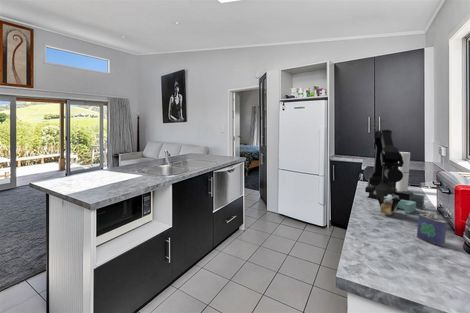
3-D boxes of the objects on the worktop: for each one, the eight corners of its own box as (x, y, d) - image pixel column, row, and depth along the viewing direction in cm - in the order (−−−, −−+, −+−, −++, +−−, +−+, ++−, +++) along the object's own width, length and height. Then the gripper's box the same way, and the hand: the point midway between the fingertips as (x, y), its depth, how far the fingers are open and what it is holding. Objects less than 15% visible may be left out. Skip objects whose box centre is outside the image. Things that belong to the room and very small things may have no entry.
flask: (446, 246, 83) (449, 216, 82) (440, 248, 83) (442, 217, 81) (419, 235, 92) (422, 208, 91) (413, 236, 91) (415, 209, 90)
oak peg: (380, 212, 113) (380, 204, 113) (387, 207, 120) (387, 199, 119) (390, 214, 110) (390, 206, 110) (396, 209, 117) (397, 201, 116)
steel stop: (391, 203, 132) (391, 190, 131) (394, 201, 134) (395, 189, 133) (422, 209, 120) (423, 196, 120) (424, 208, 123) (426, 194, 122)
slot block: (383, 207, 124) (384, 199, 123) (390, 204, 128) (391, 196, 128) (409, 213, 115) (409, 205, 114) (415, 210, 119) (416, 201, 119)
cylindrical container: (409, 192, 154) (412, 153, 151) (397, 191, 155) (399, 153, 152) (404, 189, 161) (407, 152, 158) (392, 189, 162) (394, 151, 159)
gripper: (360, 176, 115) (358, 208, 116) (405, 183, 99) (402, 220, 101) (371, 173, 121) (369, 204, 123) (415, 180, 106) (413, 214, 108)
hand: (387, 210), depth 113 cm, fingers closed on oak peg, 4 cm apart
